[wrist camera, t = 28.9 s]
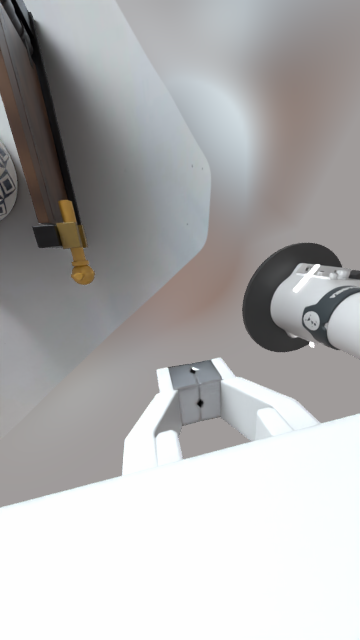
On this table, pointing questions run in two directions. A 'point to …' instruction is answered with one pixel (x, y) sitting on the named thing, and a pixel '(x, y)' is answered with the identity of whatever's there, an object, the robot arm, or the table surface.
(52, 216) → the gate
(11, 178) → the planter
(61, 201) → the bolt
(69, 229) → the gate frame
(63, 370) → the table surface
